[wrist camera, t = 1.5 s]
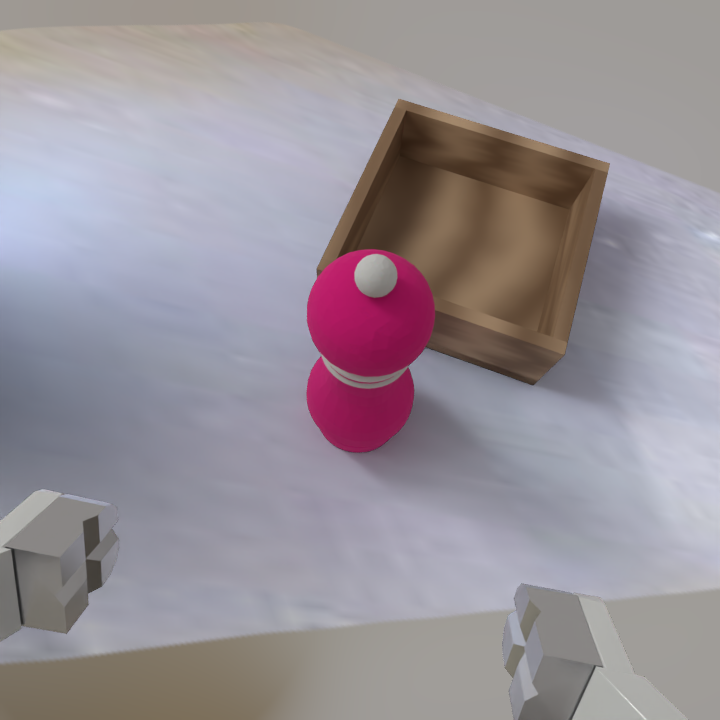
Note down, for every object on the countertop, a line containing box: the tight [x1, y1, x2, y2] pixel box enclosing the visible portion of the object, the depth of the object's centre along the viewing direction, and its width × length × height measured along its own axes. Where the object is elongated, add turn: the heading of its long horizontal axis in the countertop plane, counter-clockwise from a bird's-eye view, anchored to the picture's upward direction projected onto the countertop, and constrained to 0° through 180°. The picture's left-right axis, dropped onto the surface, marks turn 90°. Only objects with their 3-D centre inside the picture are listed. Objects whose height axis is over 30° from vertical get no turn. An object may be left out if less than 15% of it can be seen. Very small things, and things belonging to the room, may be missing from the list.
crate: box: [317, 99, 610, 385], centre depth 42 cm, size 18×18×6 cm
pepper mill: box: [307, 249, 435, 452], centre depth 30 cm, size 7×7×20 cm
